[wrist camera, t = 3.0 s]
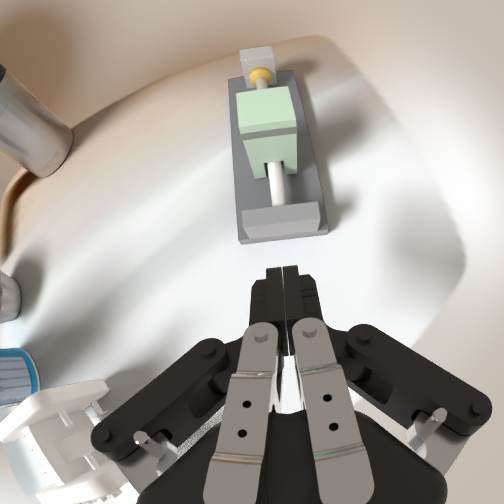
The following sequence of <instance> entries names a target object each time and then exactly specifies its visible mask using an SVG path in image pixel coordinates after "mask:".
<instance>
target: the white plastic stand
mask: <svg viewBox="0 0 504 504" xmlns="http://www.w3.org/2000/svg"><path fill="white" fill-rule="evenodd" d="M108 391H109V388H108V386H107V385H106V383H105V381H104V380H103V378H97V379H93V380H88V381H84V382H79V383H74V384H69V385H64V386H59V387H54V388H49V389H44V390H41V391H38V392H36V393H34V394H32V395H30V396H29V397H27V398H26V399H25V400H24V401H23V402H21V403H20V404H19V405H18V406H17V407H16V408H15V409H14V410H13V411H12V412H11V413H10V414H9V415H8V416H7V417H6V418H5V419H4V420H3V421H2V422H1V423H0V441H1V442H10V441H13V440H17V439H21V438H24V437H26V438H27V440H28V442H29V443H30V445H31V447H32V450H29V451H34V452H35V454H36V455H37V457H38V459H39V460H40V462H41V463H42V465H43V466H44V468H45V469H46V472H47V473H48V475H49V476H50V477H51V479H52V480H53V482H54V483H55V484H53V485H51V486H49V487H47V488H45V489H43V490H41V491H39V492H38V493H37V494H36V496H37V498H38V499H39V500H40V502H41V503H42V504H91V503H93V502H94V503H95V502H104V501H106V500H107V499H111V498H115V497H117V496H118V495H120V494H121V493H122V491H121V490H120V489H119V488H120V487H122V486H123V485H124V484H125V483H127V482H128V479H127V478H126V477H125V476H124V474H123V473H122V472H121V470H120V469H119V468H118V466H117V465H116V464H115V462H113V461H112V460H110V459H108V458H107V457H106V456H105V455H103V454H102V453H100V452H99V451H97V450H96V449H95V448H94V447H93V446H92V444H91V439H90V437H91V432H92V430H93V428H94V427H95V426H94V424H93V423H92V421H91V420H90V418H89V417H88V415H87V413H86V412H85V410H84V409H85V408H87V407H88V406H90V405H92V406H93V408H94V410H95V411H96V413H97V416H95V417H98V416H101V415H103V414H104V413H106V412H107V411H105V412H103V411H102V409H101V407H100V406H99V404H98V403H97V400H98V399H100V398H101V397H103V396H104V395H105V394H106V393H107V392H108ZM93 418H94V417H93ZM46 472H45V473H46ZM43 474H44V473H43Z"/></svg>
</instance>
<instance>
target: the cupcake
mask: <svg viewBox="0 0 504 504" xmlns="http://www.w3.org/2000/svg"><path fill="white" fill-rule="evenodd" d="M20 306H21V292H20V288H19V285H18V283H17V282H16V281H15V280H14V279H12V278H11V277H9V276H7V275H6V274H4V273H3V272H2V271H1V270H0V324H1V323H4V322H8V321H12V320H14V319H15V318H16V317H17V316H18V314H19V311H20Z"/></svg>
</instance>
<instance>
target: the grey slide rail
mask: <svg viewBox="0 0 504 504" xmlns="http://www.w3.org/2000/svg"><path fill="white" fill-rule="evenodd" d="M239 53H240V62H241V66H242V70H243V74H244V76H242V77H237V78H231V79H228V88H229V105H230V122H231V139H232V155H233V170H234V185H235V199H236V214H237V227H238V240H239V242H240V243H241V245H242V244H250V243H259V242H267V241H275V240H284V239H292V238H301V237H309V236H318V235H327V233H328V230H329V229H328V223H327V218H326V212H325V206H324V201H323V196H322V190H321V185H320V180H319V175H318V171H317V166H316V161H315V157H314V152H313V148H312V143H311V139H310V135H309V131H308V127H307V123H306V119H305V115H304V111H303V107H302V103H301V99H300V96H299V92H298V88H297V85H296V81H295V78H294V75H293V71H292V70H288V71H279V72H276V69H275V61H274V55H273V52H272V48H271V46H264V47H257V48H250V49H243V50H239ZM284 86H288V88H289V92H290V96H291V100H292V105H293V109H294V113H295V117H296V124H297V134H296V135H297V173H296V174H287V175H285V168H284V162H283V161H276V162H268V163H265V170H266V177H264V178H256V179H255V178H254V175H253V172H252V168H251V165H250V162H249V159H248V155H247V152H246V149H245V146H244V142H243V141H242V139H241V136H240V130H239V124H238V112H237V99H236V93H241V92H247V91H253V90H260V89H268V88H276V87H284Z"/></svg>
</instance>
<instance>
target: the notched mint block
mask: <svg viewBox="0 0 504 504" xmlns="http://www.w3.org/2000/svg"><path fill="white" fill-rule="evenodd" d="M236 99H237V112H238V124H239V130H240V136H241V139H242V141H243V142H244V146H245V149H246V152H247V155H248V159H249V162H250V165H251V168H252V172H253V175H254V178H255V179H256V178H264V177H266V170H265V163H268V162H276V161H283V162H284V168H285V175H287V174H296V173H297V135H296V134H297V124H296V117H295V113H294V109H293V105H292V100H291V96H290V92H289V88H288V86H284V87H276V88H268V89H260V90H253V91H247V92H241V93H236Z"/></svg>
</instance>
